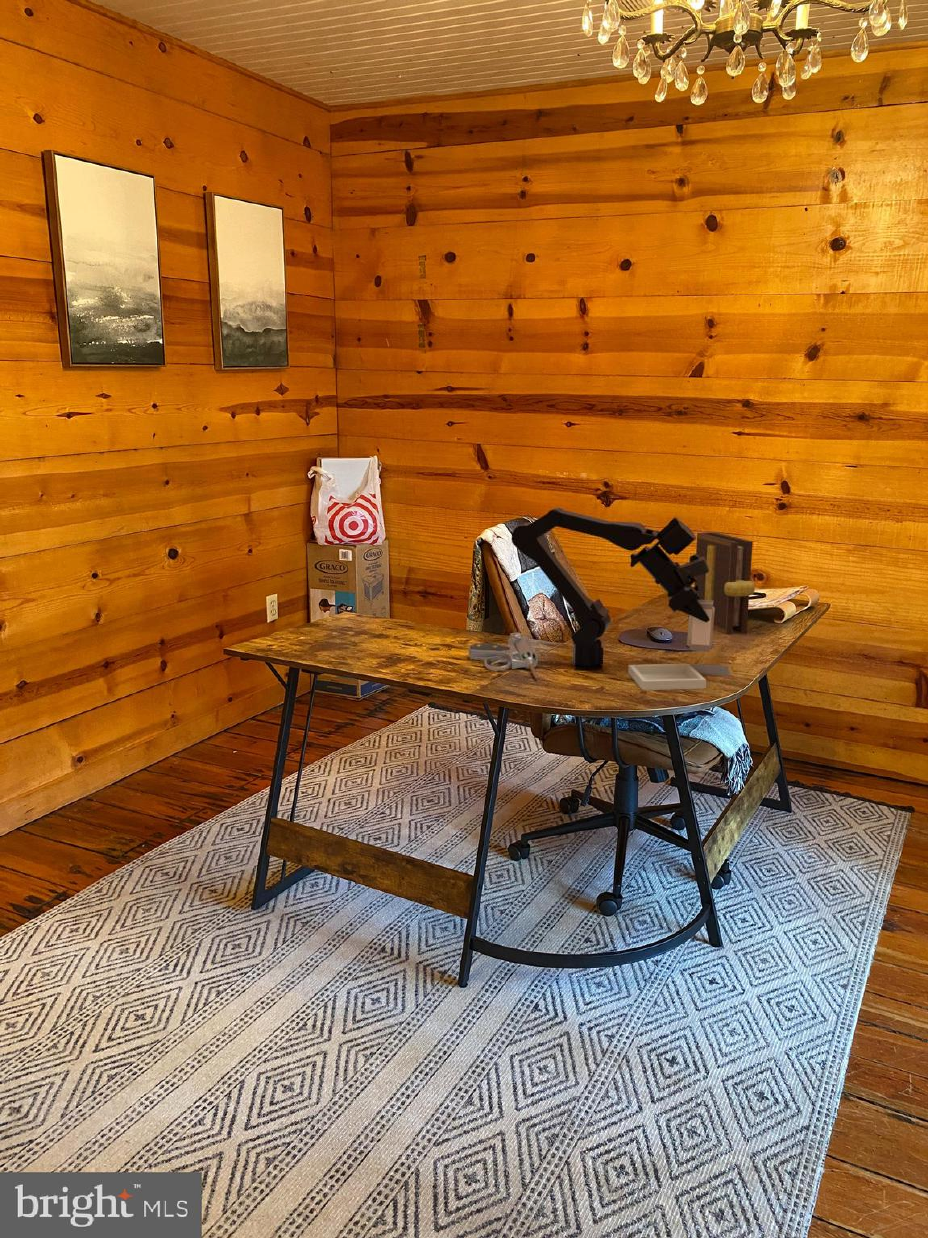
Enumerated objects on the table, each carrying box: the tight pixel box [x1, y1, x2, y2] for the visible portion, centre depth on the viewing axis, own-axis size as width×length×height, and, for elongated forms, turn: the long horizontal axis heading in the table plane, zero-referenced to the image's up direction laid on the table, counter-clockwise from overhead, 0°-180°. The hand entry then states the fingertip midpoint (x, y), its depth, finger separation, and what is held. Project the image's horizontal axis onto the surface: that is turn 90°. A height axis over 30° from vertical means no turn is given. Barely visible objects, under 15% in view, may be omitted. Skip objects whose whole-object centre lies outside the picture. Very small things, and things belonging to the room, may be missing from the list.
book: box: [693, 532, 756, 636], centre depth 265 cm, size 22×8×25 cm, turn 17°
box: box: [686, 607, 715, 649], centre depth 244 cm, size 5×4×11 cm
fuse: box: [690, 600, 713, 653], centre depth 219 cm, size 4×4×11 cm
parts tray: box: [627, 663, 707, 691], centre depth 216 cm, size 14×13×2 cm
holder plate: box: [688, 663, 731, 677], centre depth 224 cm, size 10×8×1 cm
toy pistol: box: [467, 631, 539, 680], centre depth 230 cm, size 6×28×16 cm
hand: (708, 618), depth 218 cm, fingers closed on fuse, 4 cm apart
